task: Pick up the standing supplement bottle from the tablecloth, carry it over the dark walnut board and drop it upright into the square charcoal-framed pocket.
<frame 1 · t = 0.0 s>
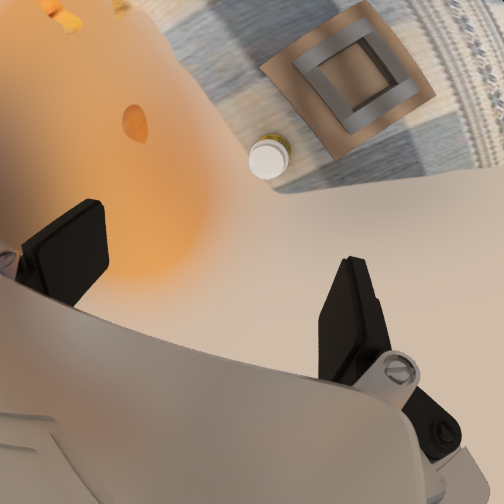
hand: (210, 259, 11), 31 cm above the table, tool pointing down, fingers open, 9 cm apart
pocket board: (352, 76, 31), on the table
supplement bottle: (273, 149, 38), on the table
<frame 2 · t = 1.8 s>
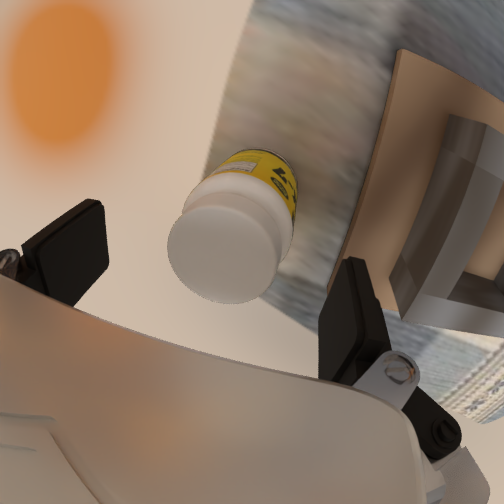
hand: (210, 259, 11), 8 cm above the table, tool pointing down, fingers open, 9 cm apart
pocket board: (478, 220, 15), on the table
supplement bottle: (258, 184, 17), on the table
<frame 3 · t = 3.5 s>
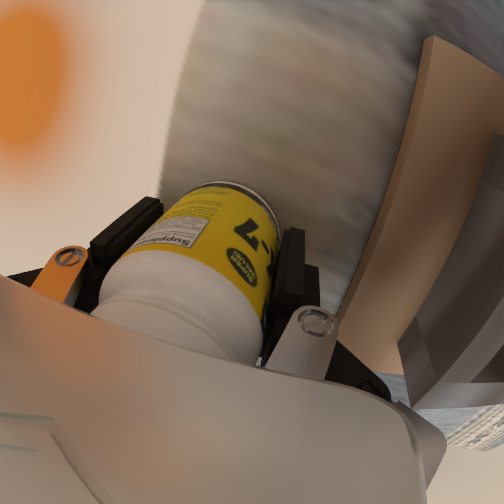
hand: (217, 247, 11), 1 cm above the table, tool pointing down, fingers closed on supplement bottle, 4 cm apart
supplement bottle: (227, 229, 13), on the table, touching gripper
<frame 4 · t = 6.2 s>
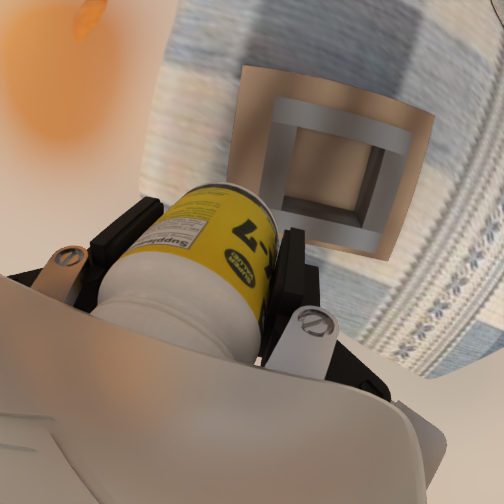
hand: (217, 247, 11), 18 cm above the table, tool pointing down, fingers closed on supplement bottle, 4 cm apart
pocket board: (326, 165, 26), on the table
supplement bottle: (225, 229, 13), point 16 cm above the table, touching gripper
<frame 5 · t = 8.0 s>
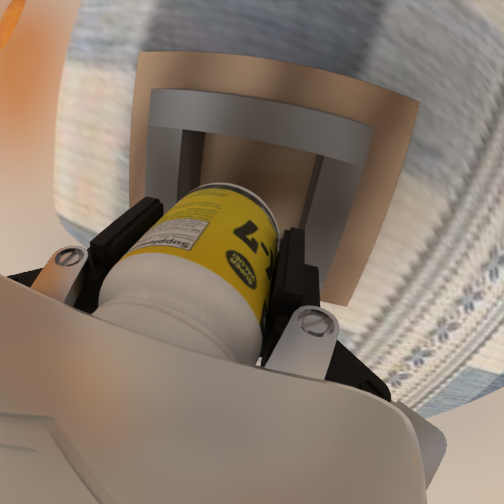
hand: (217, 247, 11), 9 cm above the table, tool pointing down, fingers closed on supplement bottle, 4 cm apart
pocket board: (255, 178, 19), on the table
supplement bottle: (226, 230, 13), point 8 cm above the table, touching gripper
when the fingers open (5 cm above the table, at t = 9.2 s): supplement bottle drops 3 cm, resting on pocket board.
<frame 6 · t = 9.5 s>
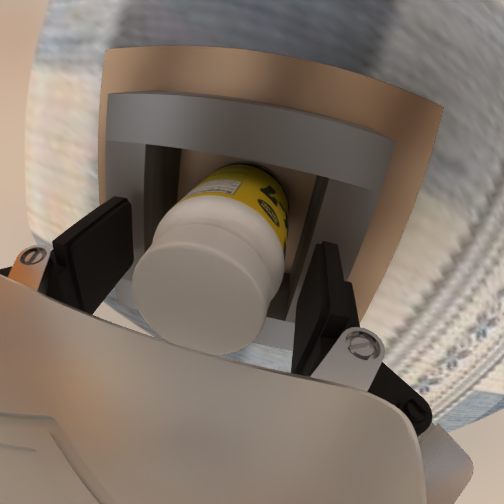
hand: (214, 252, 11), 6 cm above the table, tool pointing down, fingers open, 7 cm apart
pocket board: (243, 198, 16), on the table
supplement bottle: (245, 203, 15), point 1 cm above the table, touching pocket board
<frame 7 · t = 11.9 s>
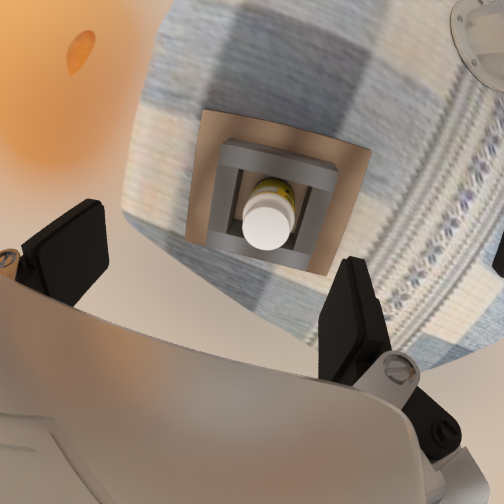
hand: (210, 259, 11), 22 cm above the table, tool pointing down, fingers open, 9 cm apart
pocket board: (271, 194, 32), on the table
supplement bottle: (273, 196, 31), point 1 cm above the table, touching pocket board
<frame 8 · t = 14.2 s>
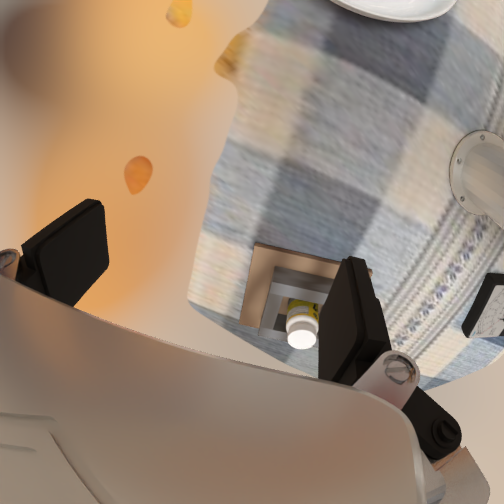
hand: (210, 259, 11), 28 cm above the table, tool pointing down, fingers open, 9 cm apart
pocket board: (301, 297, 46), on the table
supplement bottle: (303, 300, 45), point 1 cm above the table, touching pocket board
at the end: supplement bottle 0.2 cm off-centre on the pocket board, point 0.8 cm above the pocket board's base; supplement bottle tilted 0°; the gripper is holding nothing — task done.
